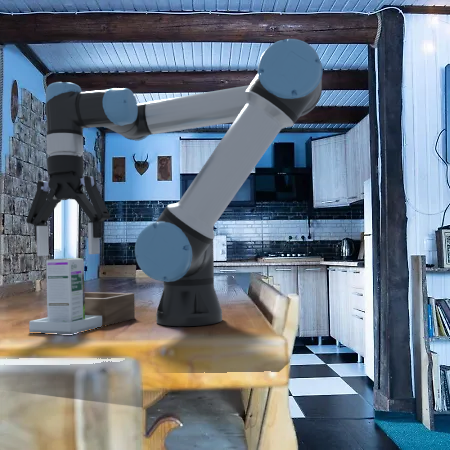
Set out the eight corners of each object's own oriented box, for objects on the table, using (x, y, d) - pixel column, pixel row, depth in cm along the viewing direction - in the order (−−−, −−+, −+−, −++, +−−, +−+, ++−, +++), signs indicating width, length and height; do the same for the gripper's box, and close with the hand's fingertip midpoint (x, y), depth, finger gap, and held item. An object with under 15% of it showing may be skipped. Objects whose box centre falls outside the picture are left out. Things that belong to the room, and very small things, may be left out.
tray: (102, 327, 109) (102, 315, 109) (70, 335, 99) (70, 323, 100) (63, 325, 113) (63, 313, 113) (29, 333, 103) (29, 321, 103)
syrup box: (71, 329, 103) (70, 258, 103) (46, 328, 104) (45, 258, 105) (85, 324, 108) (85, 257, 109) (61, 323, 110) (60, 257, 110)
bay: (134, 318, 121) (134, 293, 122) (105, 326, 110) (105, 298, 111) (86, 315, 127) (86, 292, 127) (54, 323, 116) (54, 297, 116)
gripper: (124, 153, 106) (127, 252, 106) (33, 164, 116) (35, 255, 115) (103, 147, 99) (106, 253, 99) (7, 159, 109) (10, 257, 108)
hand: (68, 255), depth 107 cm, fingers open, 13 cm apart
